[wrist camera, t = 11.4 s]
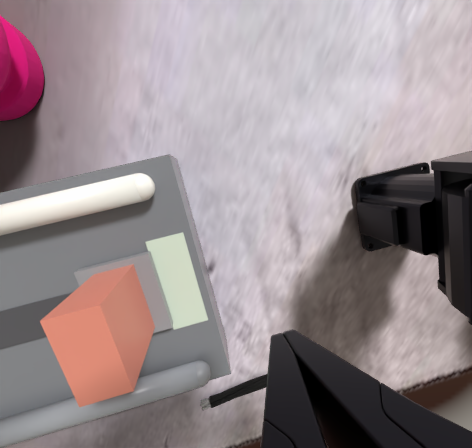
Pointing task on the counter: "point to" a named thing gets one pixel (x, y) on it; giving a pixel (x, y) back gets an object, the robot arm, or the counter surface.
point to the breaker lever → (108, 326)
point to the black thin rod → (235, 392)
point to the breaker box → (65, 283)
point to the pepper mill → (18, 73)
